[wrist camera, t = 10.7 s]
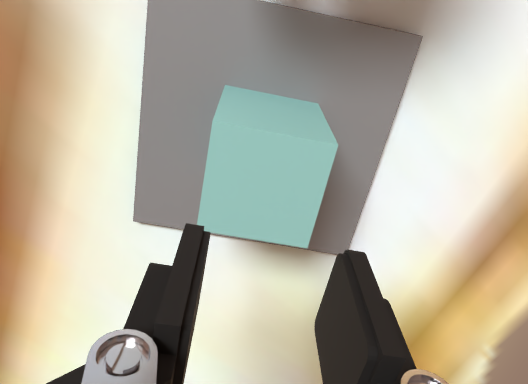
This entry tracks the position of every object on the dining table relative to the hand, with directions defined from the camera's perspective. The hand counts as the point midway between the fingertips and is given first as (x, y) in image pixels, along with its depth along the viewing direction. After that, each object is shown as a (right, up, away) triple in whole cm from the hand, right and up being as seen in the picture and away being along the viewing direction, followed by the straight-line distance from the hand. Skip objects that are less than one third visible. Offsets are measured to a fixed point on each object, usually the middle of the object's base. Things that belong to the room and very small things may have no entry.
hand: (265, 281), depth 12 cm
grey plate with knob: (0, +6, +12) cm, 13 cm away
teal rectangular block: (0, +6, +11) cm, 13 cm away
